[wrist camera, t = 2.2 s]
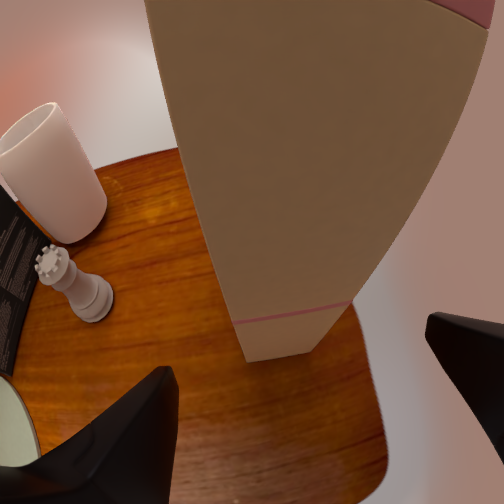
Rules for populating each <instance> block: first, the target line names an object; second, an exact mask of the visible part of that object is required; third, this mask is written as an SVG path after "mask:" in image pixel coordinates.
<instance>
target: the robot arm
mask: <svg viewBox="0 0 504 504" xmlns="http://www.w3.org/2000/svg"><path fill="white" fill-rule="evenodd" d="M425 338H426V341H427V342H428V344H429V346H430V347H431V349H432V351H433V352H434V354H435V356H436V358H437V359H438V361H439V363H440V364H441V366H442V368H443V369H444V371H445V372H446V374H447V375H448V376H449V378H450V379H451V381H452V382H453V383H454V385H455V386H456V388H457V389H458V391H459V392H460V394H461V395H462V397H463V398H464V400H465V401H466V403H467V404H468V405H469V407H470V409H471V410H472V412H473V413H474V415H475V416H476V418H477V420H478V421H479V423H480V424H481V426H482V428H483V429H484V431H485V432H486V434H487V436H488V437H489V439H490V441H491V442H492V444H493V445H494V448H495V450H496V451H497V453H498V455H499V457H500V458H501V461H502V462H503V464H504V324H500V323H494V322H489V321H484V320H479V319H473V318H468V317H463V316H458V315H453V314H447V313H442V312H435V313H432V314H430V315H429V316H428V319H427V325H426V331H425ZM178 407H179V387H178V384H177V381H176V378H175V375H174V372H173V370H172V368H171V367H170V366H158V367H157V368H156V369H154V370H153V371H152V372H151V373H150V374H149V375H147V376H146V377H145V378H144V379H143V380H141V381H140V382H139V383H138V384H137V385H135V386H134V387H133V388H132V389H131V390H129V391H128V392H127V393H126V394H125V395H123V396H122V397H121V398H120V399H119V400H117V401H116V402H115V403H114V404H113V405H111V406H110V407H109V408H108V409H106V410H105V411H104V412H103V413H102V414H100V415H99V416H98V417H97V418H95V419H94V420H93V421H92V422H91V424H88V425H87V426H85V427H84V428H83V429H82V430H80V431H79V432H78V433H76V434H75V435H74V436H72V437H71V438H70V439H68V440H67V441H65V442H64V443H62V444H61V445H59V446H57V447H56V448H54V449H53V450H51V451H49V452H48V453H46V454H45V455H43V456H41V457H40V458H38V459H36V460H35V461H33V462H31V463H29V464H27V465H24V466H19V467H9V466H0V504H169V496H170V487H171V479H172V471H173V463H174V456H175V448H176V441H177V434H178Z"/></svg>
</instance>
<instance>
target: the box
mask: <svg viewBox="0 0 504 504" xmlns="http://www.w3.org/2000/svg"><path fill="white" fill-rule="evenodd" d="M50 245H51V239H50V238H48V237H47V236H46V235H45V234H44V233H43V232H42V231H41V230H40V229H39V228H38V227H37V226H36V225H35V224H34V223H33V221H32V220H31V219H30V218H29V217H28V216H27V215H26V214H25V213H24V212H23V211H22V210H21V208H20V207H19V206H18V205H17V204H16V203H15V202H14V200H13V199H12V198H11V197H10V196H9V194H8V193H7V192H6V191H5V190H4V188H3V187H2V186H1V185H0V373H2V374H5V375H7V376H9V377H10V376H11V375H12V369H13V362H14V357H15V352H16V347H17V343H18V338H19V334H20V330H21V326H22V323H23V319H24V316H25V312H26V309H27V305H28V302H29V299H30V296H31V293H32V290H33V287H34V284H35V281H36V279H37V276H38V272H37V271H36V270H35V265H37V264H38V265H39V263H38V262H37V261H36V258H37V256H38V255H40V256H41V257H42V256H43V255H44V252H43V251H42V249H43V248H44V247H46V246H47V247H48V248H49V247H50Z"/></svg>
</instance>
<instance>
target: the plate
mask: <svg viewBox="0 0 504 504" xmlns="http://www.w3.org/2000/svg"><path fill="white" fill-rule="evenodd" d="M40 457H41V452H40V447H39V443H38V439H37V435H36V432H35V429H34V426H33V423H32V420H31V418H30V415H29V413H28V411H27V409H26V407H25V404H24V403H23V401H22V399H21V397H20V395H19V394H18V393H17V391H16V390H15V388H14V387H13V386H12V385H11V383H10V382H8V381H7V380H6V379H5V378H4V377H2V376H1V375H0V466H9V467H19V466H24V465H27V464H29V463H31V462H33V461H35V460H36V459H38V458H40Z"/></svg>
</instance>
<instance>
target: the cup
mask: <svg viewBox="0 0 504 504" xmlns="http://www.w3.org/2000/svg"><path fill="white" fill-rule="evenodd" d="M0 173H1V174H2V176H3V178H4V179H5V181H6V183H7V184H8V186H9V187H10V188H11V190H12V191H13V193H14V194H15V196H16V197H17V198H18V199H19V201H20V202H21V203H22V204H23V206H24V207H25V208H26V209H27V210H28V211H29V213H30V214H31V215H32V216H33V217H34V218H35V219H36V220H37V221H38V222H39V223H40V224H41V225H42V226H43V227H44V228H45V229H46V230H47V231H48V232H49V233H50V234H51V235H52V236H53V237H54V238H55V239H56V240H57V241H59V242H61V243H66V244H69V243H73V242H76V241H78V240H80V239H82V238H84V237H85V236H87V235H88V234H89V233H90V232H92V231H93V230H94V229H95V228H96V227H97V225H98V224H99V222H100V221H101V219H102V218H103V215H104V213H105V211H106V207H107V198H106V195H105V193H104V191H103V189H102V187H101V185H100V183H99V181H98V178H97V176H96V174H95V172H94V170H93V168H92V166H91V164H90V162H89V160H88V158H87V156H86V154H85V152H84V150H83V148H82V147H81V144H80V142H79V141H78V139H77V137H76V135H75V133H74V131H73V130H72V128H71V126H70V124H69V122H68V120H67V119H66V117H65V115H64V114H63V112H62V110H61V109H60V107H59V105H58V104H57V103H54V102H51V103H47V104H44V105H41V106H39V107H37V108H36V109H34V110H32V111H31V112H29V113H28V114H26V115H25V116H24V117H22V118H21V119H20V120H18V121H17V122H16V123H15V124H14V125H13V126H12V127H11V128H10V129H9V130H8V131H7V132H6V133H5V134H4V135H3V136H2V138H1V139H0Z"/></svg>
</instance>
